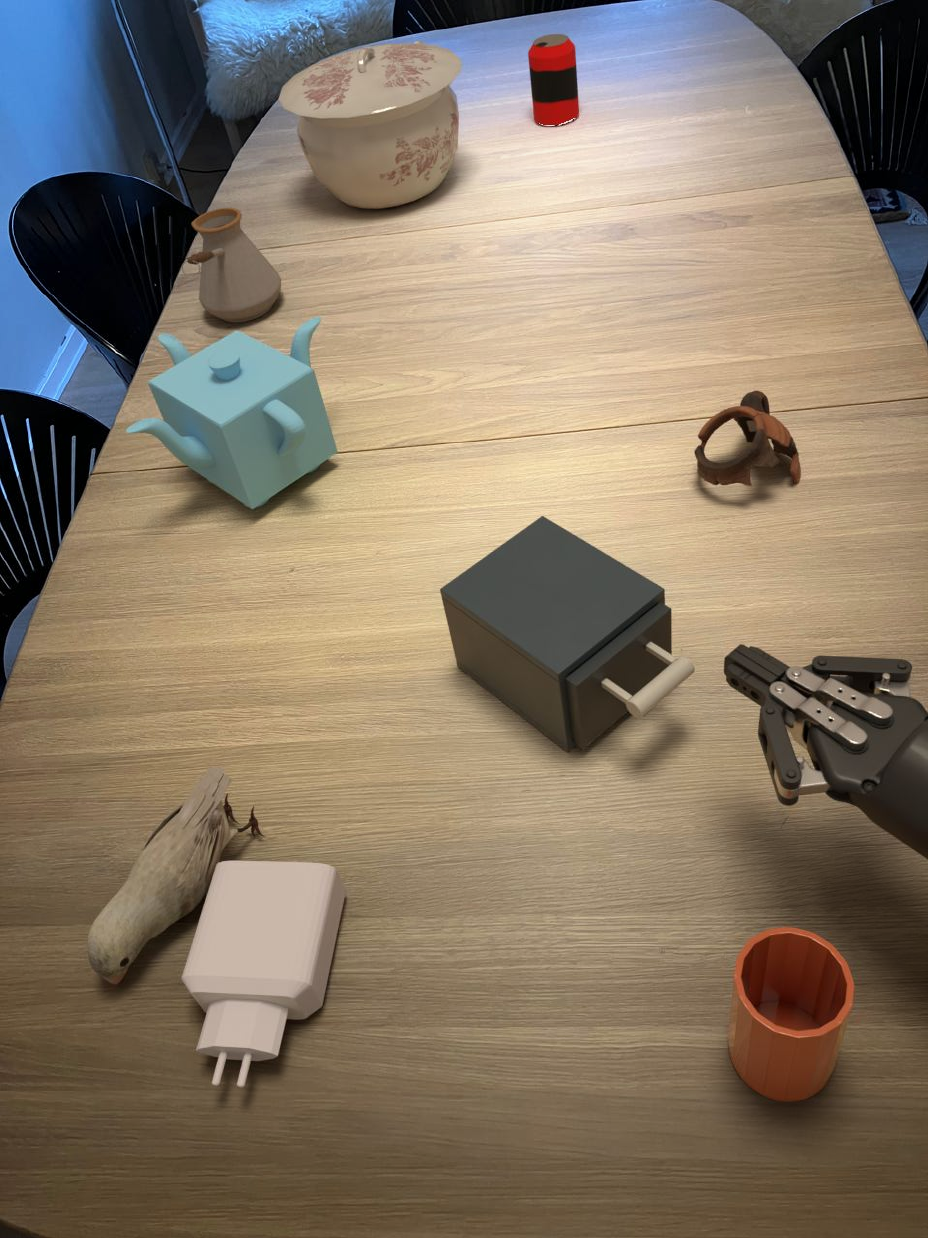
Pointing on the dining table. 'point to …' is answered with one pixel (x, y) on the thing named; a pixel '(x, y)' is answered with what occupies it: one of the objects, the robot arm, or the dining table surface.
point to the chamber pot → (378, 121)
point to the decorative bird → (165, 876)
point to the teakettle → (242, 413)
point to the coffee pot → (232, 269)
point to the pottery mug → (757, 432)
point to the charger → (261, 955)
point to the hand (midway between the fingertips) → (731, 658)
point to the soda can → (553, 79)
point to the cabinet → (541, 618)
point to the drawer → (625, 676)
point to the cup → (788, 1012)
